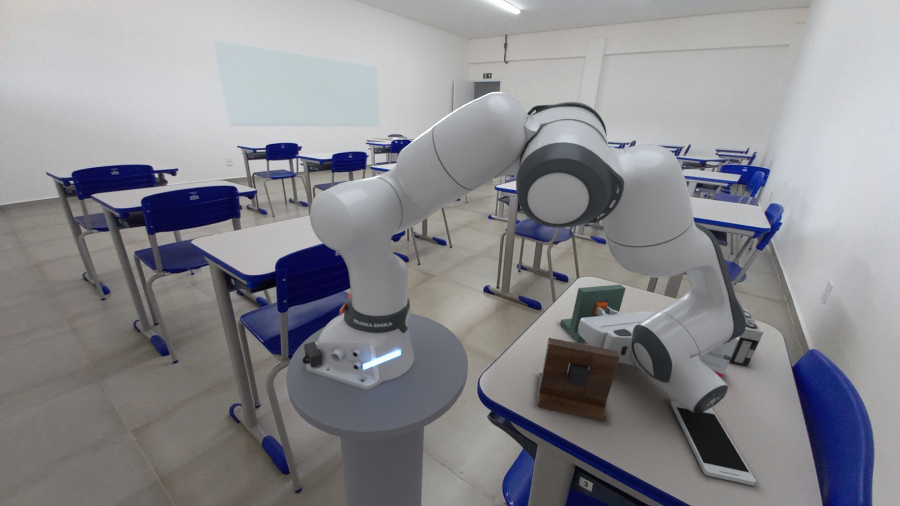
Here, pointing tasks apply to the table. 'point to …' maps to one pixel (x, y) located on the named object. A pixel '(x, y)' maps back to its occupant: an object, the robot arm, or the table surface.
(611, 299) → the far plate
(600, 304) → the far switch
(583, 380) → the near switch
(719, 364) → the ink box
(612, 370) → the near plate
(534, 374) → the table surface
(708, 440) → the smartphone
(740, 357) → the grey black box
